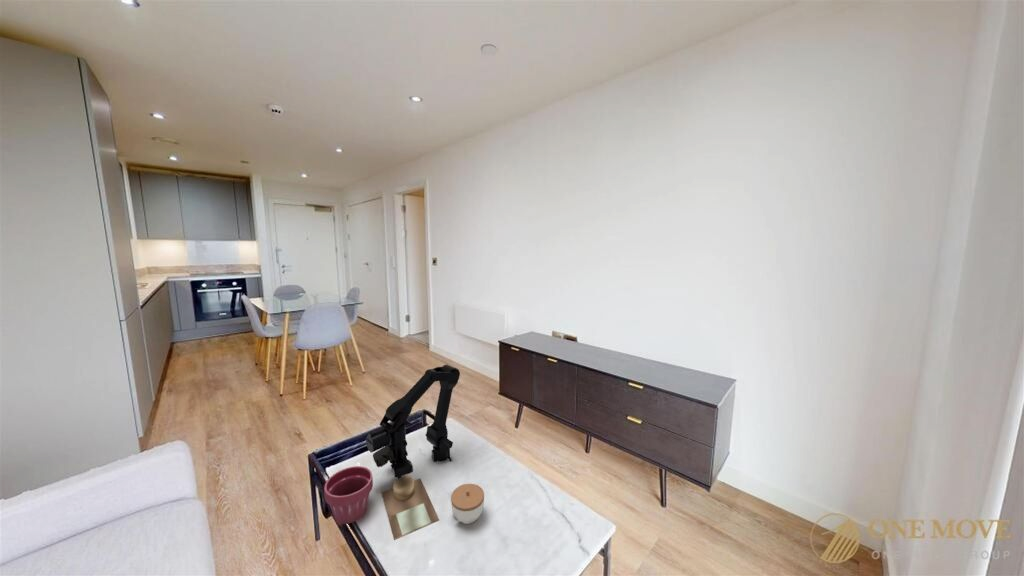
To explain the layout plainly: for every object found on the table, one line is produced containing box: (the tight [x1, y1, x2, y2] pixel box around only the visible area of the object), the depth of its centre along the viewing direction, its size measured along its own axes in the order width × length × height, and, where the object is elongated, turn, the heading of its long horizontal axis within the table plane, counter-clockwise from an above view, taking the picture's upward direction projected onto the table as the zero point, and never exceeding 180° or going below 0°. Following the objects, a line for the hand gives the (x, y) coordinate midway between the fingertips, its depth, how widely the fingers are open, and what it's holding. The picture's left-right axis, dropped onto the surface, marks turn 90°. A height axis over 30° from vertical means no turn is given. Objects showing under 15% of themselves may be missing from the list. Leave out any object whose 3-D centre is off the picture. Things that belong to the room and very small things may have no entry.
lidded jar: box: [450, 483, 485, 525], centre depth 109 cm, size 11×11×9 cm
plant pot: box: [323, 465, 374, 527], centre depth 109 cm, size 14×14×13 cm
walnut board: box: [380, 478, 440, 541], centre depth 113 cm, size 14×22×1 cm, turn 31°
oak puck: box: [392, 475, 415, 501], centre depth 118 cm, size 7×7×4 cm
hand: (399, 477), depth 124 cm, fingers closed
